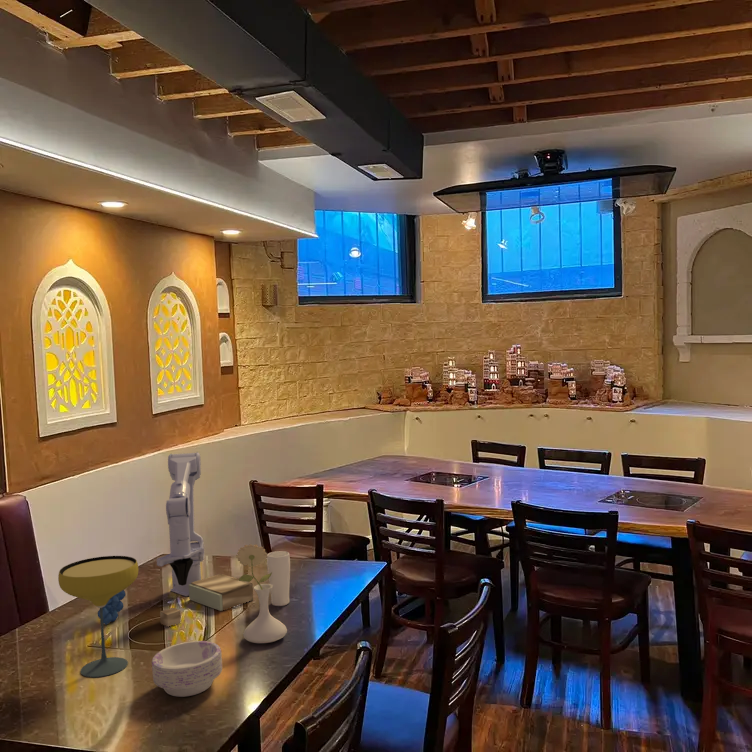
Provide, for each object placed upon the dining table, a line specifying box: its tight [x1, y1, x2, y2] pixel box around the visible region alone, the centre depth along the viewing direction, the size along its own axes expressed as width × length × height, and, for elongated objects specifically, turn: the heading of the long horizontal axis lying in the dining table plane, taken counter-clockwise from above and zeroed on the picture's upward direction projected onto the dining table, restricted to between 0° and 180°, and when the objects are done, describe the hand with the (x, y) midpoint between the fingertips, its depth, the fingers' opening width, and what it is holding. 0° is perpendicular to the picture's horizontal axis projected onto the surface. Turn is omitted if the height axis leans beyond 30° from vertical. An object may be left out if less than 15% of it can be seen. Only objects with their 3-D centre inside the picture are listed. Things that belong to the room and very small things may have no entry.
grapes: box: [97, 589, 127, 625], centre depth 207 cm, size 12×7×12 cm, turn 165°
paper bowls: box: [151, 640, 223, 698], centre depth 163 cm, size 15×15×8 cm
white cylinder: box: [266, 550, 291, 607], centre depth 216 cm, size 7×7×15 cm
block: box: [159, 607, 182, 628], centre depth 204 cm, size 4×4×4 cm
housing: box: [191, 573, 254, 611], centre depth 222 cm, size 16×11×5 cm
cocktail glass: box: [57, 555, 139, 679], centre depth 176 cm, size 18×18×25 cm
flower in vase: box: [235, 543, 288, 644], centre depth 190 cm, size 13×11×25 cm
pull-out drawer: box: [188, 584, 223, 612], centre depth 221 cm, size 16×10×5 cm, turn 47°
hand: (182, 584), depth 212 cm, fingers closed
